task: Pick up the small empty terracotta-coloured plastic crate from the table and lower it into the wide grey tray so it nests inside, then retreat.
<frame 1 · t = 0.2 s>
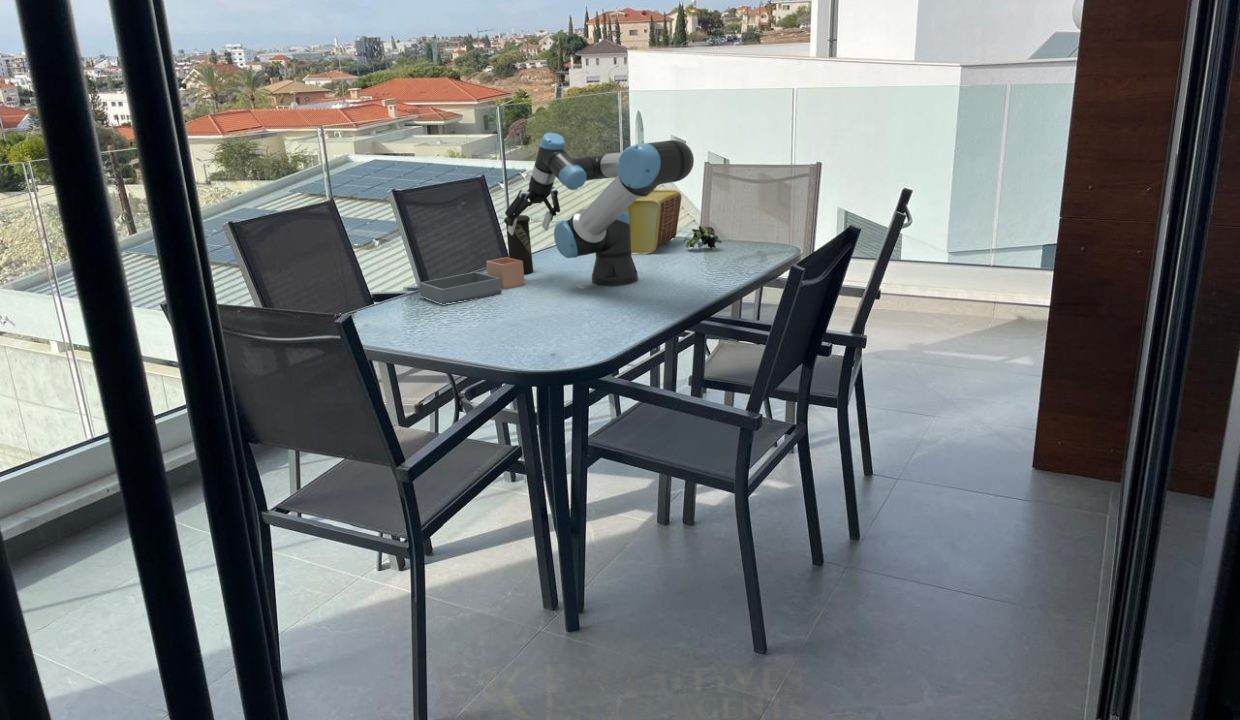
hand: (527, 230, 308), 16 cm above the table, tool tilted 30°, fingers open, 13 cm apart
passion flower: (702, 251, 340), on the table
container: (521, 272, 320), on the table
small crate: (506, 284, 302), on the table
picnic basket: (641, 248, 353), on the table
grey tray: (461, 295, 291), on the table
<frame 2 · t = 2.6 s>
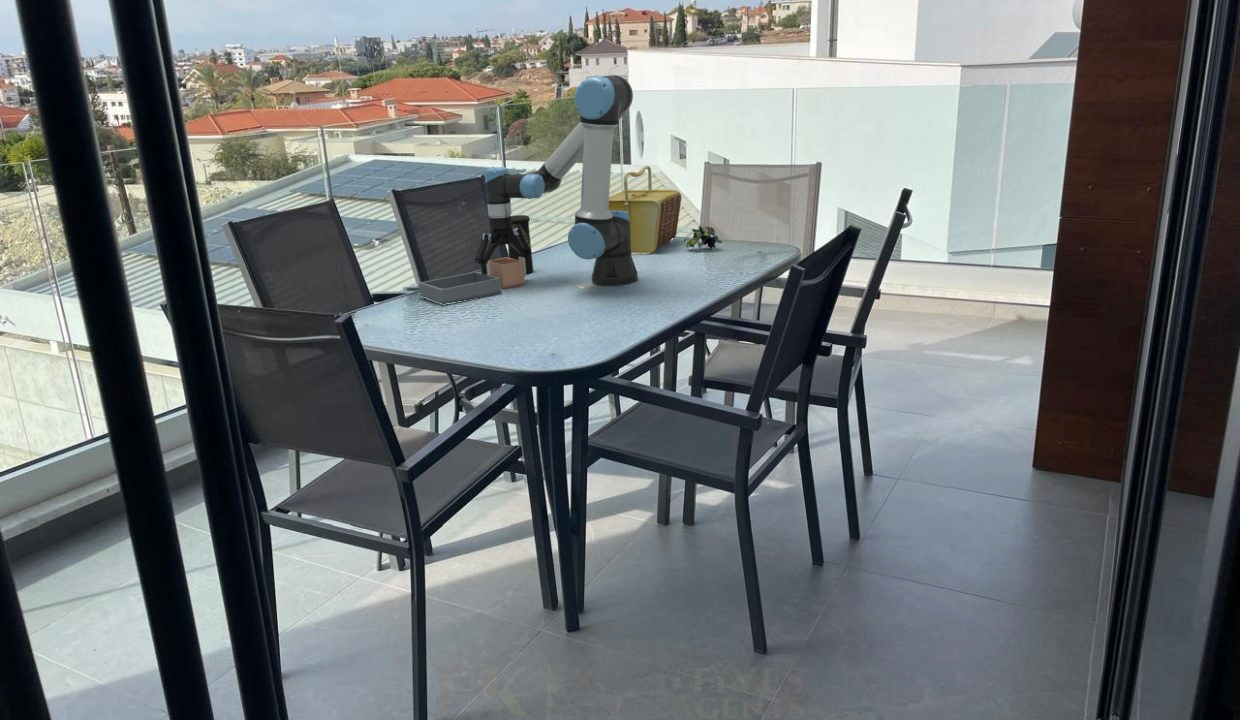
hand: (505, 280, 302), 1 cm above the table, tool pointing down, fingers open, 13 cm apart
nothing on the table moved.
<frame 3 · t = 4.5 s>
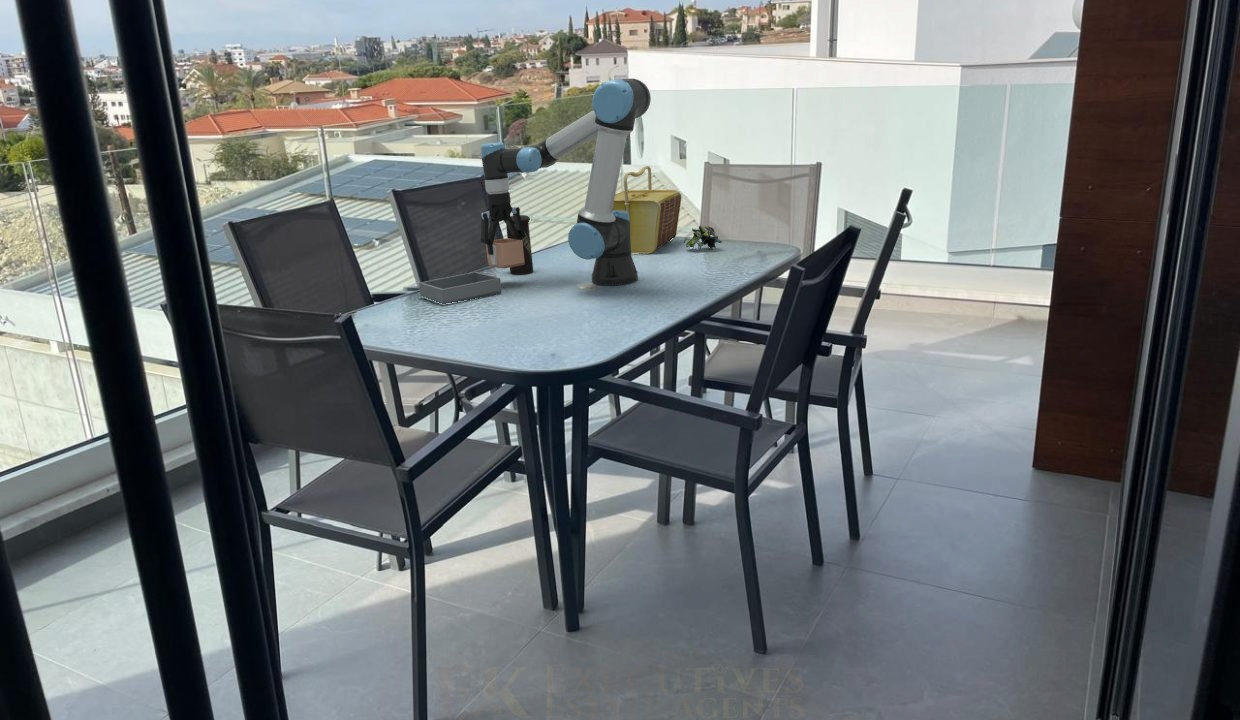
hand: (506, 261, 300), 8 cm above the table, tool pointing down, fingers closed on small crate, 8 cm apart
small crate: (506, 265, 300), point 7 cm above the table, touching gripper
everything else where it was.
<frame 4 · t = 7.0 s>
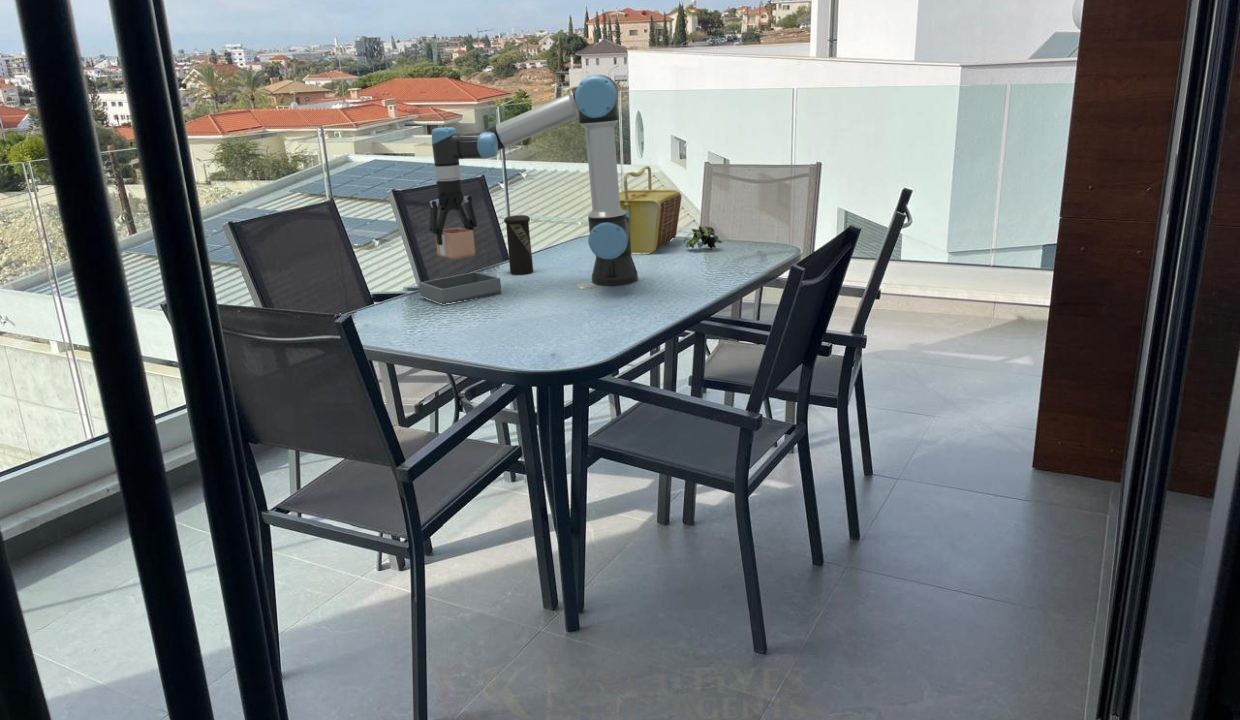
hand: (456, 252, 286), 14 cm above the table, tool pointing down, fingers closed on small crate, 8 cm apart
small crate: (456, 256, 287), point 13 cm above the table, touching gripper
everything else where it was.
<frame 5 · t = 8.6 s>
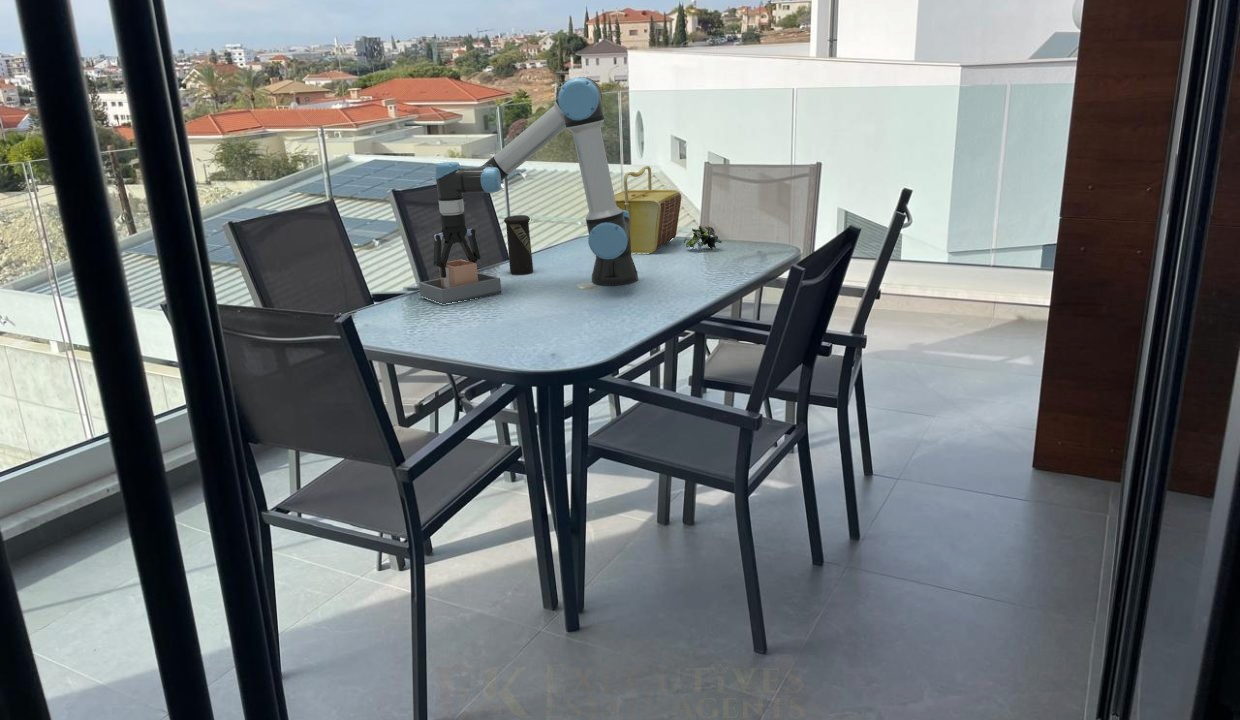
hand: (459, 284, 289), 4 cm above the table, tool pointing down, fingers closed on small crate, 8 cm apart
small crate: (460, 288, 290), point 2 cm above the table, touching gripper
everything else where it was.
when the fingers open (3 cm above the table, at t = 9.7 s): small crate stays where it is, resting on grey tray.
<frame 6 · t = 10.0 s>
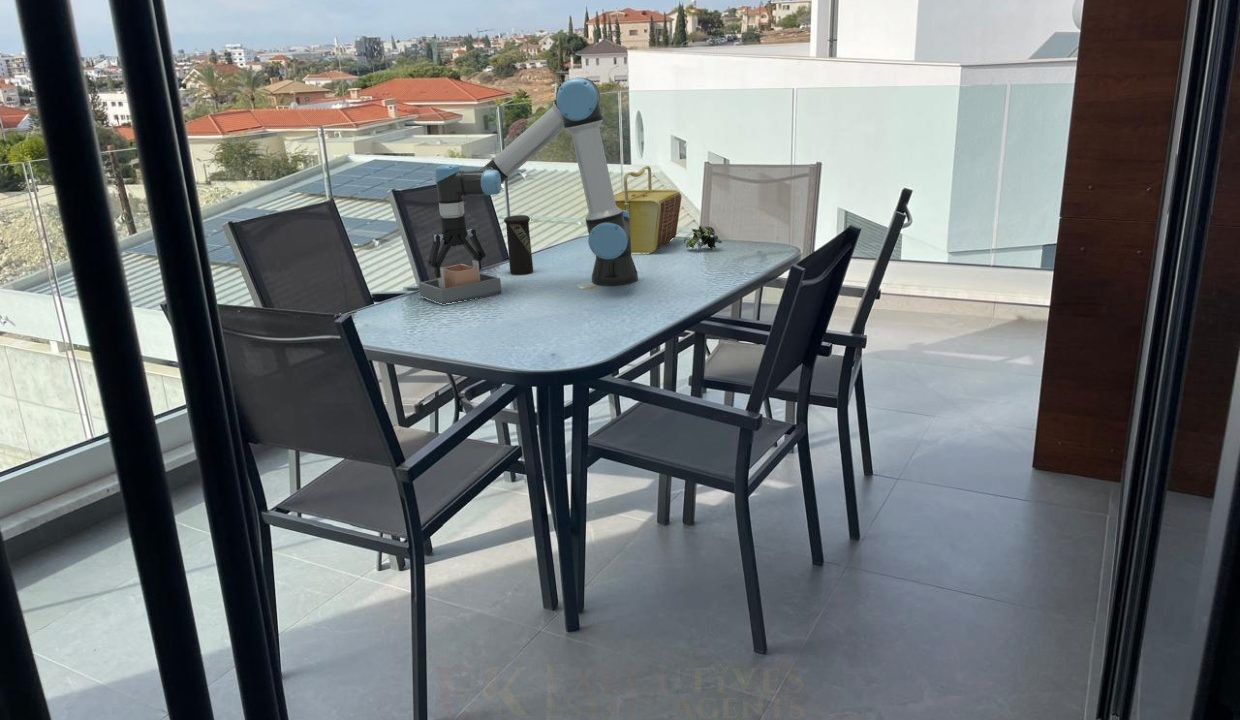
hand: (459, 284, 289), 4 cm above the table, tool pointing down, fingers open, 12 cm apart
small crate: (461, 292, 290), point 1 cm above the table, touching grey tray
everything else where it was.
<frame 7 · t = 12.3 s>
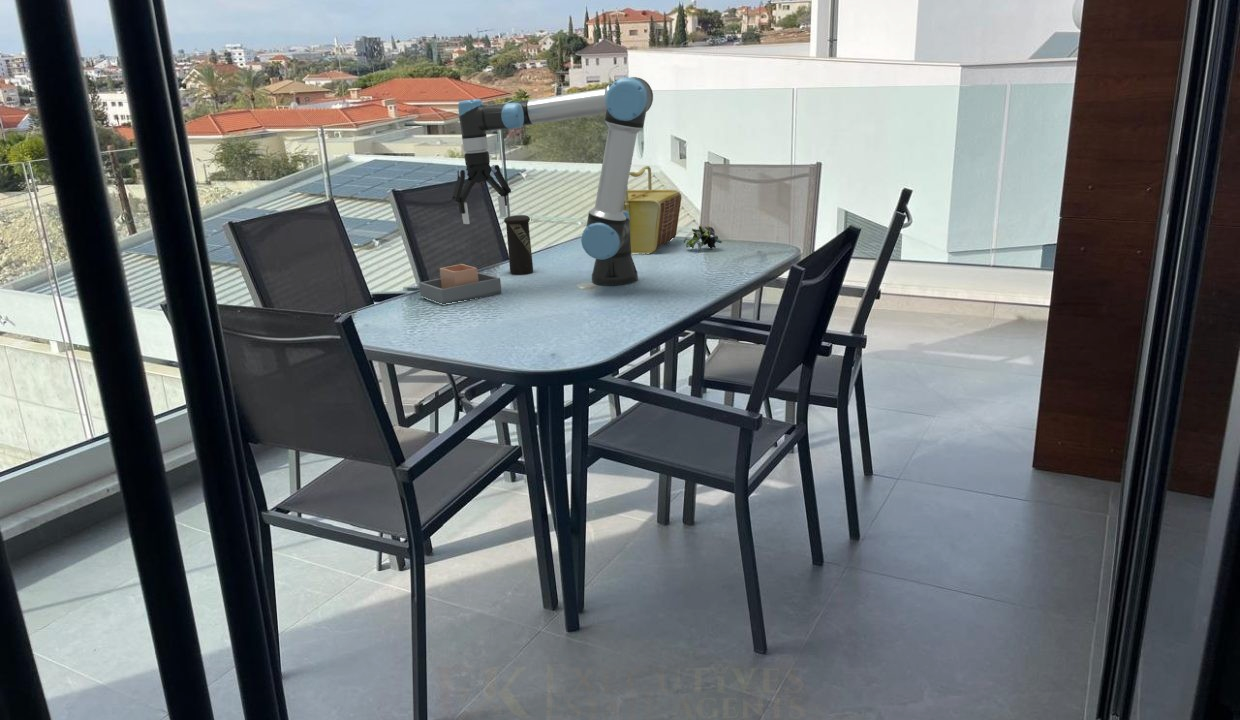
hand: (485, 220, 288), 23 cm above the table, tool pointing down, fingers open, 13 cm apart
nothing on the table moved.
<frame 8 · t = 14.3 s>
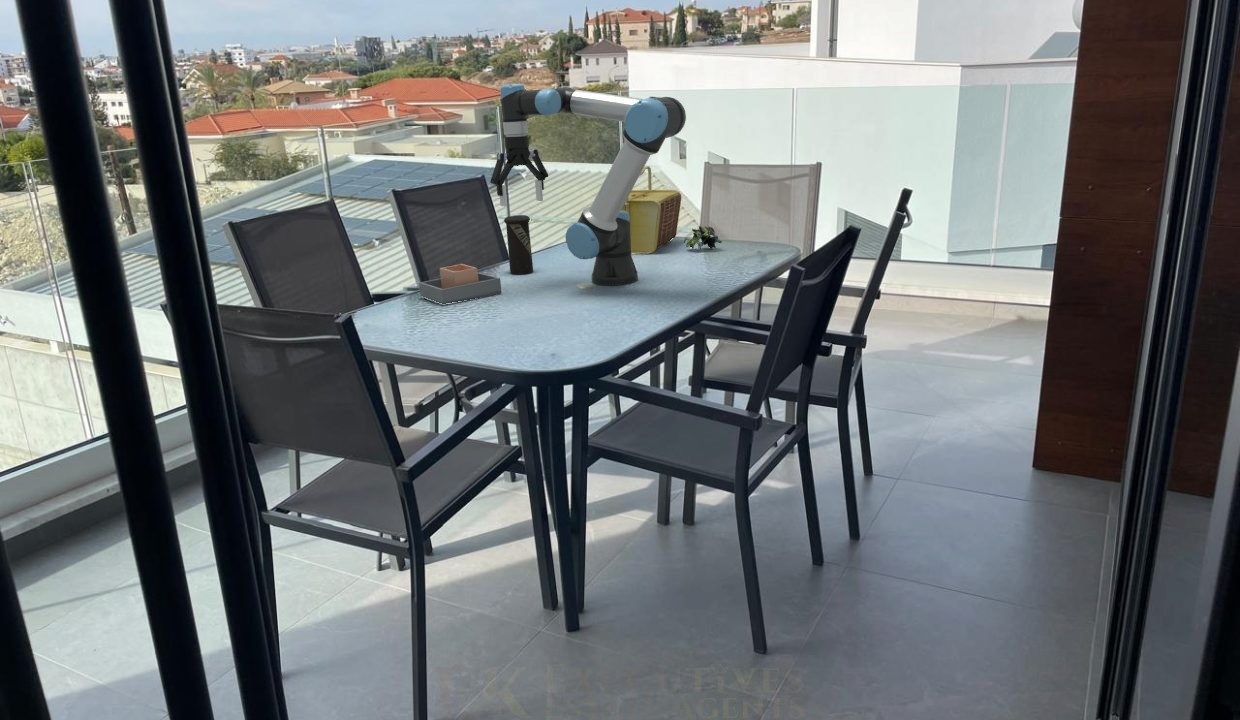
hand: (522, 203, 293), 27 cm above the table, tool pointing down, fingers open, 13 cm apart
nothing on the table moved.
at the end: small crate inside the target area on the grey tray (0.1 cm from its centre), point 1.0 cm above the grey tray's base; small crate tilted 0°; the gripper is holding nothing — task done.
